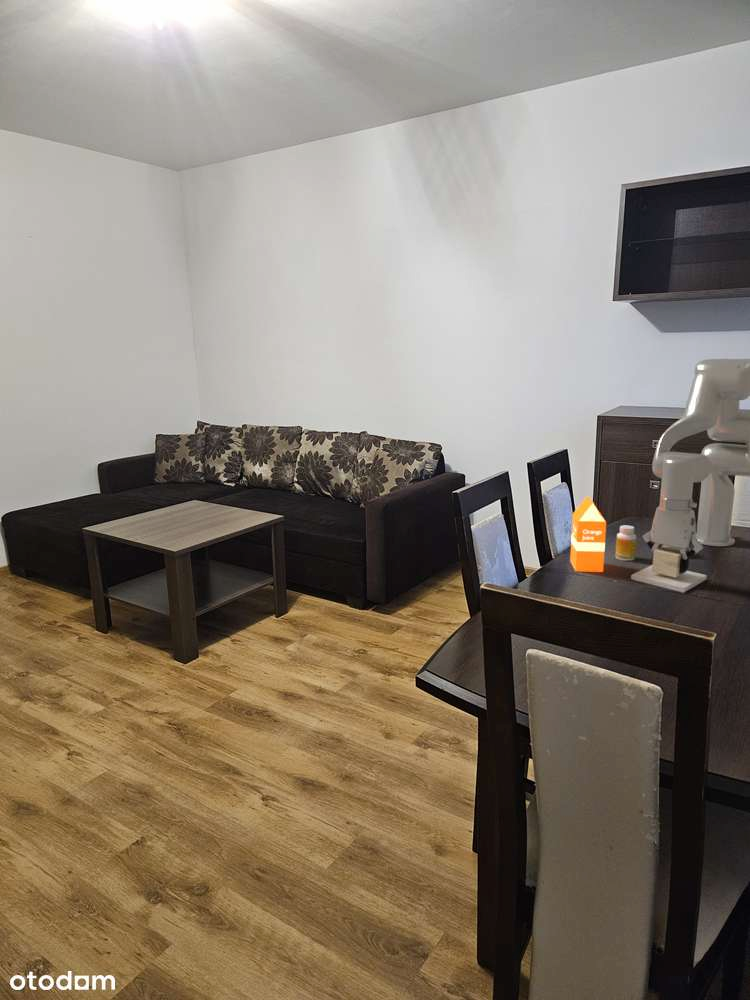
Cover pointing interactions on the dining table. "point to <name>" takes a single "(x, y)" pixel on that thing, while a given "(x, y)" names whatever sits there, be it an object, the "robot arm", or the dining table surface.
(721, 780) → the dining table surface
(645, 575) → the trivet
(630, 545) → the supplement bottle
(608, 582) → the dining table surface
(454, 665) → the dining table surface
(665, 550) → the beech block
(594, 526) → the orange juice
